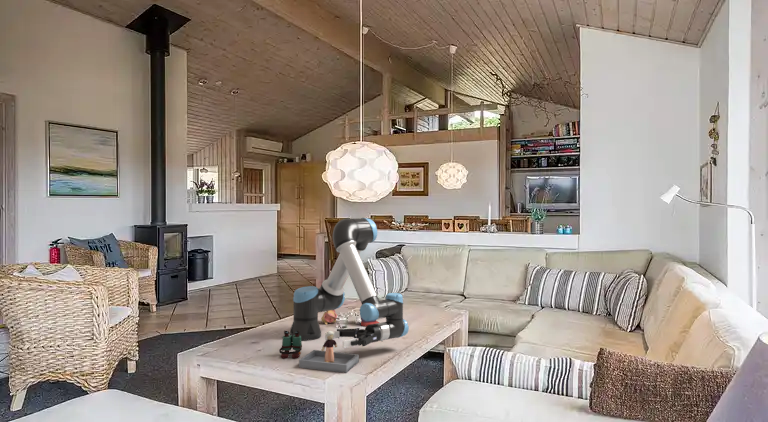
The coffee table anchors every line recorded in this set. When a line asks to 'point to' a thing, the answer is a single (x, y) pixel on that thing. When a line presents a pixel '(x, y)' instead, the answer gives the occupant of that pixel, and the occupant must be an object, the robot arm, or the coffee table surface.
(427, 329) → the coffee table surface
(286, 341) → the binoculars
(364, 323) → the stacking bear
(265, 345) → the coffee table surface
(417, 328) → the coffee table surface
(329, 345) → the grandmother figurine
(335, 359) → the tray
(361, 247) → the robot arm
